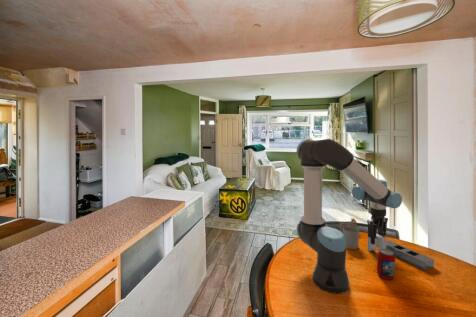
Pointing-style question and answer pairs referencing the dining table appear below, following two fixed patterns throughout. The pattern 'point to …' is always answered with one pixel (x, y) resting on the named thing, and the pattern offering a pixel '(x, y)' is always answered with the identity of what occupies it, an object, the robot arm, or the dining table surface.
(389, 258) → the beverage can
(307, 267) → the dining table surface
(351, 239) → the cup
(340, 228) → the ruin model on sheet
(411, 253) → the block with rectangular holes
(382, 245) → the upright white panel
